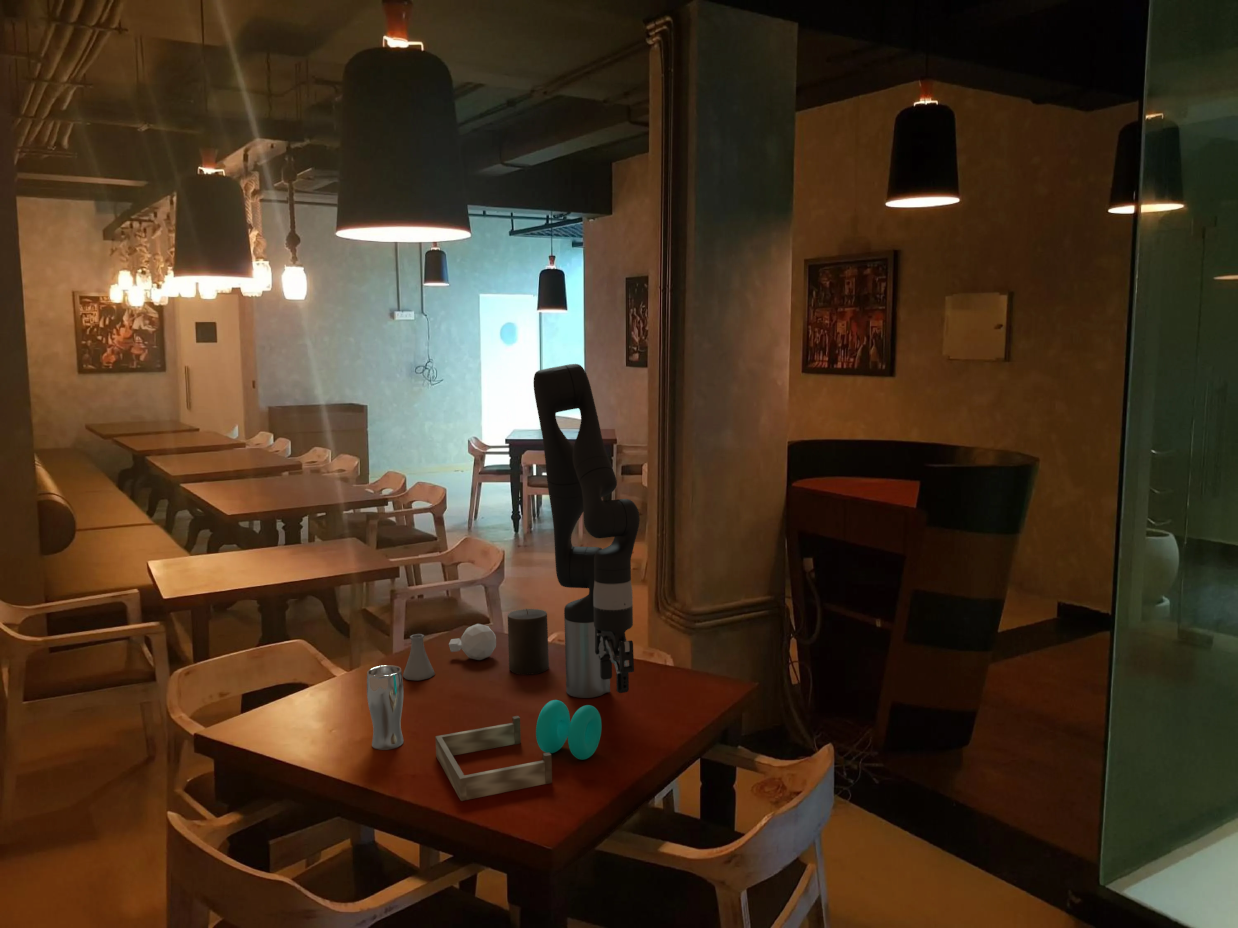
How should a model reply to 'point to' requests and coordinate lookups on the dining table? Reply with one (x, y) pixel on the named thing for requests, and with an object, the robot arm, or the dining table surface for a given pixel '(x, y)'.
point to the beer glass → (385, 705)
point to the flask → (418, 661)
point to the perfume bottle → (475, 642)
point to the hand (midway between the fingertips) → (614, 685)
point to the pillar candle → (528, 641)
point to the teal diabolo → (568, 729)
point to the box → (492, 779)
